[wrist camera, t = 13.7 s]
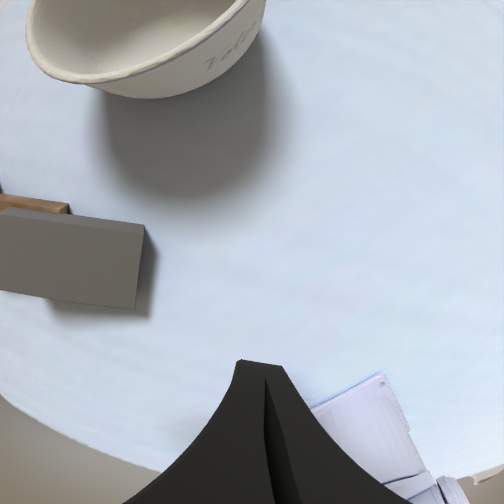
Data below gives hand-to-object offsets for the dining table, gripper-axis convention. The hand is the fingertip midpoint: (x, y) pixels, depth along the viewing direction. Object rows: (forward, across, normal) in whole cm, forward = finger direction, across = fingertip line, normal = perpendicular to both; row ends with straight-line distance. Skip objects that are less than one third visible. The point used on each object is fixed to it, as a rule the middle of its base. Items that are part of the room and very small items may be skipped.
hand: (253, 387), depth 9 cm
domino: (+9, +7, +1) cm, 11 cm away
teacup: (+10, +8, -15) cm, 20 cm away
